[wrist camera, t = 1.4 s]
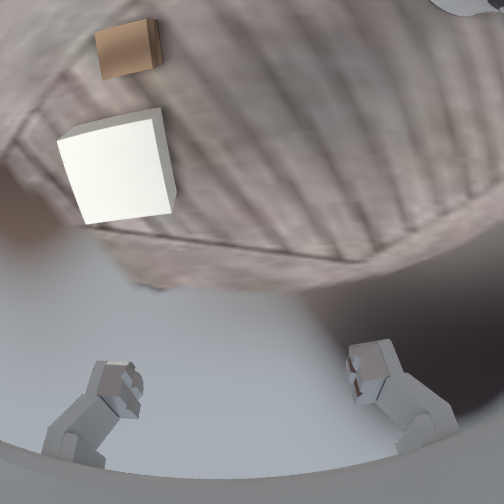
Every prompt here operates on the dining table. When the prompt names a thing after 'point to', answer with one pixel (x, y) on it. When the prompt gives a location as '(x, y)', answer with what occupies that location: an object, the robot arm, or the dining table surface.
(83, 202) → the base block
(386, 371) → the robot arm
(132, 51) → the walnut cube
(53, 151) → the dining table surface
